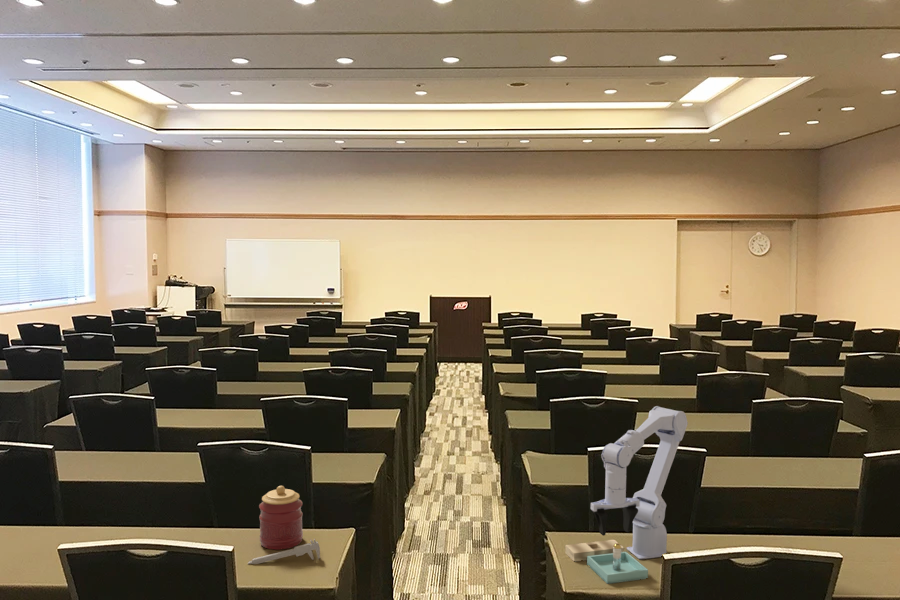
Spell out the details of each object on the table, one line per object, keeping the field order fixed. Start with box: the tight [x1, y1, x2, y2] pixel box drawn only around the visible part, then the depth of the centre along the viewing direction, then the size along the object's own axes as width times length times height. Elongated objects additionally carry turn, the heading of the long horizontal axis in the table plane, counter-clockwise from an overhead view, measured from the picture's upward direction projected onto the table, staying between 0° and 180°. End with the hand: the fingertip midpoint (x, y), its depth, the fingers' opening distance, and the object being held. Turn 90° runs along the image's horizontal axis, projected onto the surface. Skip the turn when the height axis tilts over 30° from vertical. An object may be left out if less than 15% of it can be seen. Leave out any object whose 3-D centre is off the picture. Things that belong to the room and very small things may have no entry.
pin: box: [613, 542, 622, 571], centre depth 211 cm, size 2×2×8 cm
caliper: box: [247, 538, 321, 565], centre depth 217 cm, size 21×1×6 cm, turn 101°
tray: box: [586, 551, 649, 585], centre depth 211 cm, size 12×12×2 cm
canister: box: [258, 485, 304, 550], centre depth 230 cm, size 13×13×18 cm
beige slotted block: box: [564, 539, 625, 562], centre depth 222 cm, size 16×6×2 cm, turn 106°
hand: (614, 532), depth 214 cm, fingers open, 7 cm apart
